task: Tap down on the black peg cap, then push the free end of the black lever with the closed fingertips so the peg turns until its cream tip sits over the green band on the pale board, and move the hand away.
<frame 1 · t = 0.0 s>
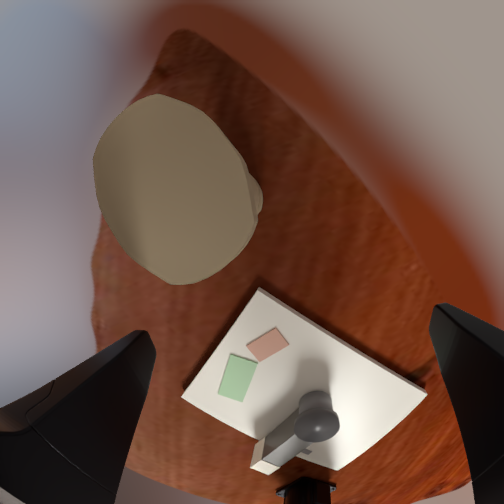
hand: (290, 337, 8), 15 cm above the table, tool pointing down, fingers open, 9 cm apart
peg: (293, 435, 22), point 3 cm above the table, hinge at 0.0°
board: (308, 401, 25), on the table
handle: (244, 200, 23), on the table
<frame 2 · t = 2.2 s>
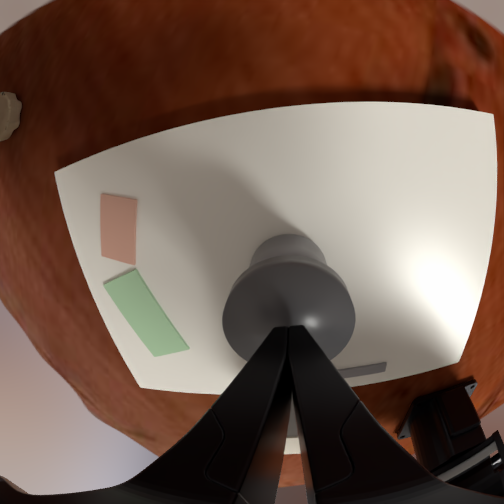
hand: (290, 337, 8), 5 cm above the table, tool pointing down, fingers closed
peg: (295, 363, 11), point 3 cm above the table, hinge at 0.0°
board: (290, 277, 13), on the table
handle: (14, 115, 11), on the table
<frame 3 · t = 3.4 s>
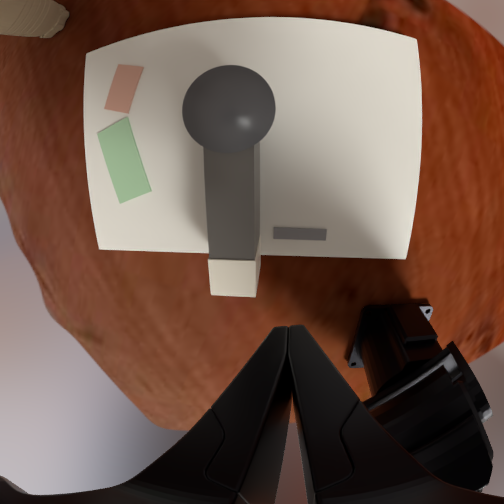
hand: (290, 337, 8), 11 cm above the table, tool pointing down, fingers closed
peg: (235, 180, 13), point 3 cm above the table, hinge at 0.0°
board: (243, 132, 15), on the table
handle: (59, 23, 12), on the table
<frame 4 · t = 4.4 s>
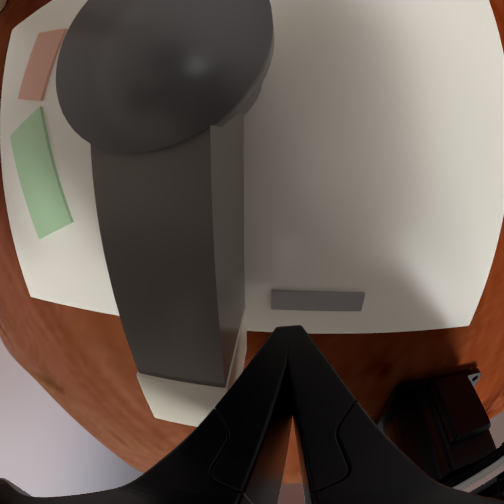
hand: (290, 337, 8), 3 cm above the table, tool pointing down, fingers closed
peg: (185, 213, 6), point 3 cm above the table, hinge at -0.4°, touching gripper
board: (216, 115, 8), on the table
handle: (3, 3, 5), on the table
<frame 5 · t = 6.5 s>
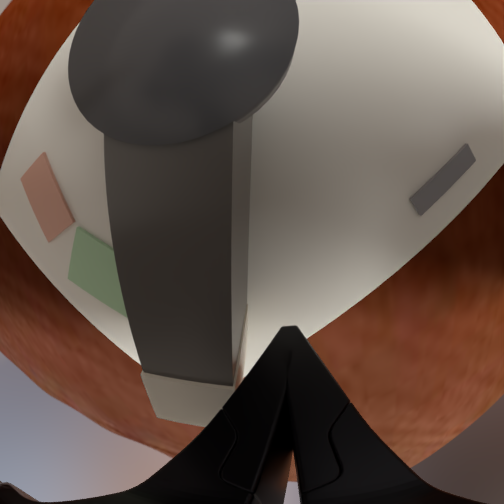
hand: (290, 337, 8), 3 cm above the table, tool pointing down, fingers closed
peg: (194, 209, 6), point 3 cm above the table, hinge at -46.4°, touching gripper
board: (244, 103, 8), on the table
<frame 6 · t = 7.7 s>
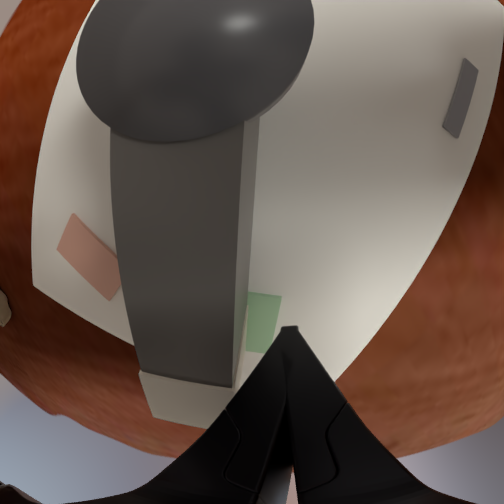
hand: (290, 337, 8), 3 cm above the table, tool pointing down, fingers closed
peg: (198, 208, 6), point 3 cm above the table, hinge at -70.8°, touching gripper
board: (259, 93, 8), on the table
handle: (2, 297, 13), on the table
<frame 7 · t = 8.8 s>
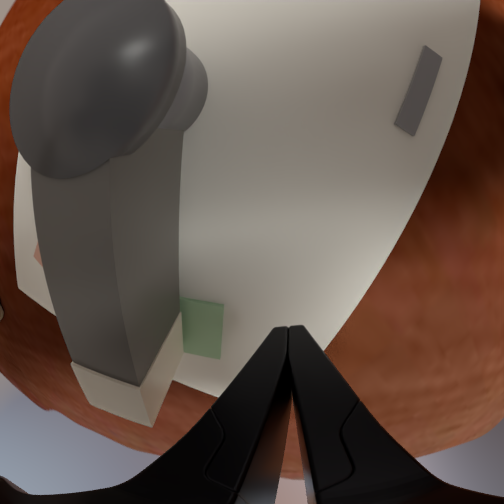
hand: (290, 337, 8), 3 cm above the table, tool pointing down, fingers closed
peg: (116, 225, 6), point 3 cm above the table, hinge at -73.6°
board: (197, 105, 8), on the table
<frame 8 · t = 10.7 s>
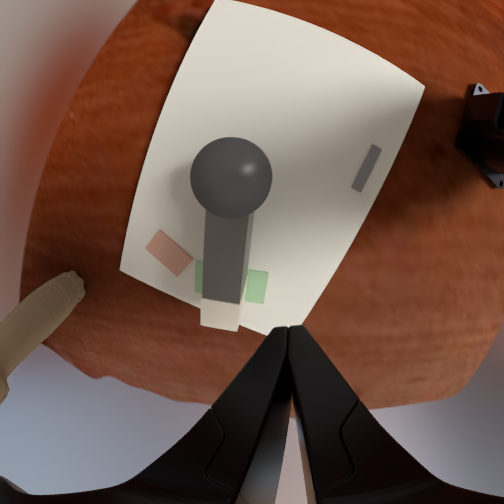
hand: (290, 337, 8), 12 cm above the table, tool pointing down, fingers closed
peg: (230, 233, 16), point 3 cm above the table, hinge at -73.6°
board: (258, 173, 18), on the table
handle: (76, 281, 23), on the table
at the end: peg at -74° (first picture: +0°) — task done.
